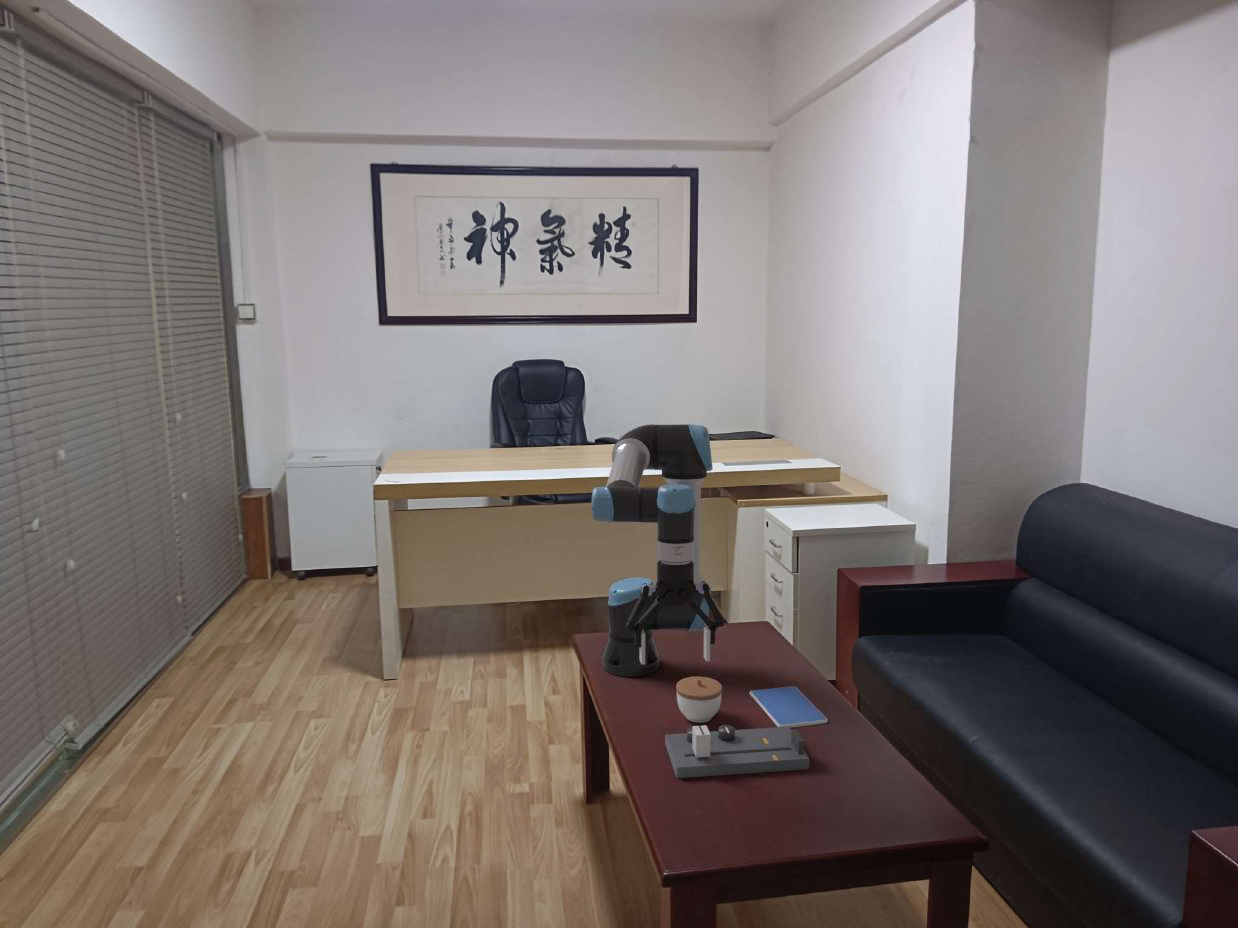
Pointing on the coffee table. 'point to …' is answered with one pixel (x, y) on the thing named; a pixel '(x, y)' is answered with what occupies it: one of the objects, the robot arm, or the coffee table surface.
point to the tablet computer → (788, 707)
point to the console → (738, 752)
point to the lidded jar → (699, 698)
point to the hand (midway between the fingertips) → (674, 660)
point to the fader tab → (701, 741)
